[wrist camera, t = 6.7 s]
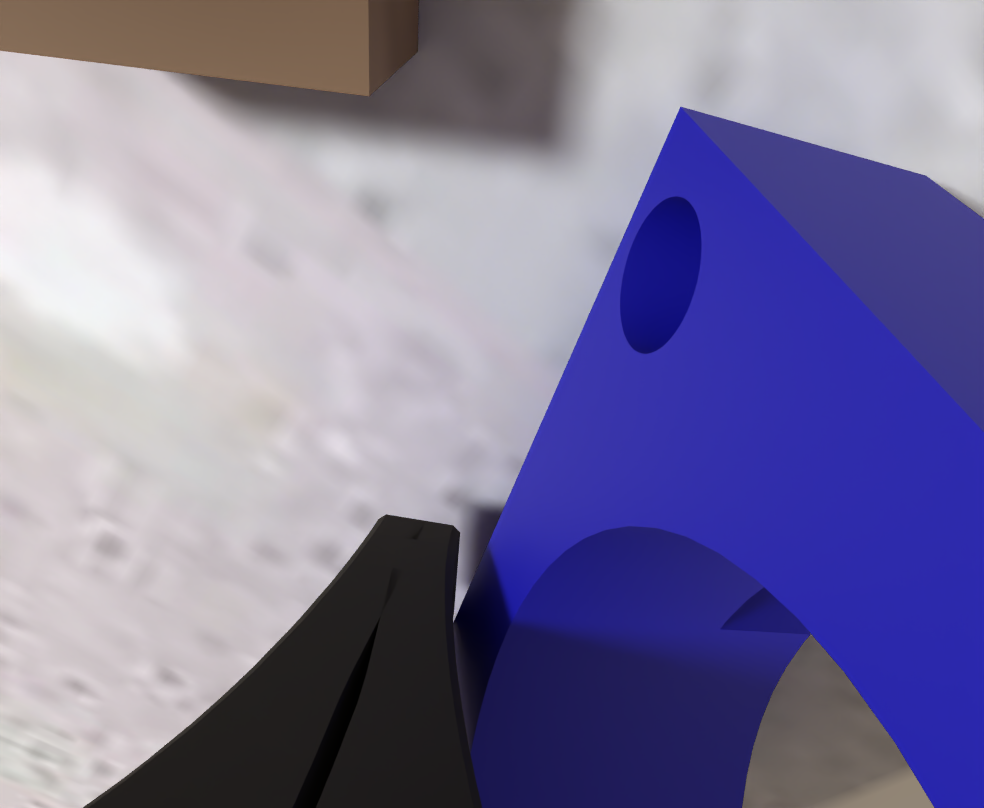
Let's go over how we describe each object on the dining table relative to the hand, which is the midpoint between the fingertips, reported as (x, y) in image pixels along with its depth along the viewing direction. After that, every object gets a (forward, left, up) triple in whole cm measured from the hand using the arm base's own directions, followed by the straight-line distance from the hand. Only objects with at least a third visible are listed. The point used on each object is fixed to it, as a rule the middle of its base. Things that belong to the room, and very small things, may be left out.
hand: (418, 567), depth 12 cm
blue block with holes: (+1, -3, -1) cm, 3 cm away
